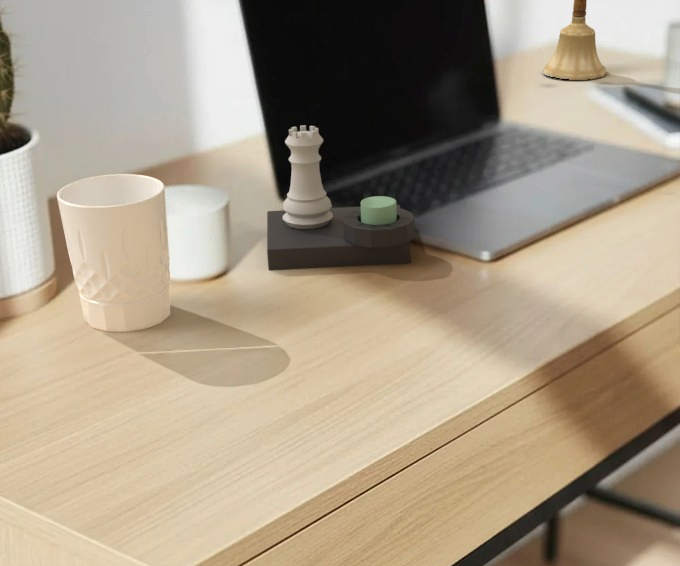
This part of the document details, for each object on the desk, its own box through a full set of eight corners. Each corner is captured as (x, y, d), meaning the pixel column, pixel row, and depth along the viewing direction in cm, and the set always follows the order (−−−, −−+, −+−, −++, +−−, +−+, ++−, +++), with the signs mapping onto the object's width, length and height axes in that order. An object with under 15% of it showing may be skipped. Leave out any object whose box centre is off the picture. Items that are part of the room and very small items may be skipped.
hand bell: (613, 68, 159) (624, -65, 150) (597, 82, 152) (608, -56, 144) (552, 64, 162) (560, -66, 153) (534, 78, 155) (541, -57, 147)
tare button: (394, 215, 102) (394, 195, 102) (398, 226, 100) (398, 206, 99) (359, 216, 102) (359, 196, 101) (362, 228, 100) (361, 208, 99)
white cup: (150, 341, 90) (134, 210, 84) (58, 330, 92) (36, 202, 87) (195, 301, 96) (182, 177, 91) (107, 292, 98) (89, 170, 93)
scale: (404, 224, 110) (404, 186, 108) (417, 268, 100) (417, 227, 99) (268, 231, 109) (265, 193, 108) (268, 275, 100) (265, 235, 98)
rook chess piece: (313, 209, 108) (309, 119, 104) (343, 222, 105) (340, 129, 101) (272, 221, 106) (266, 129, 102) (302, 234, 103) (297, 139, 99)
